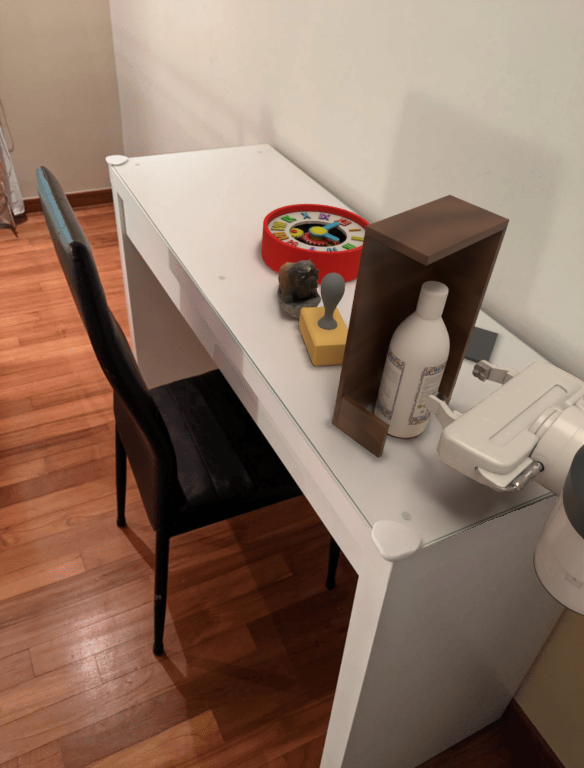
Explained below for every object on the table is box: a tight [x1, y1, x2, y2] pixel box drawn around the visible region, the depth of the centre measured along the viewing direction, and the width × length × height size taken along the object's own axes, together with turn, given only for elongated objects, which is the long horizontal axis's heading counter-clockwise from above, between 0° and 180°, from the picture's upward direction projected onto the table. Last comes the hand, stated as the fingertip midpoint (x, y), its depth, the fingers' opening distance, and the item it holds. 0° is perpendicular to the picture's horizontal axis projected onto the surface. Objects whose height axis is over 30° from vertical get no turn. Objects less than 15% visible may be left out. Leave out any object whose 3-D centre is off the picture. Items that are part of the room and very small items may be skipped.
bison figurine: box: [277, 259, 322, 318], centre depth 96 cm, size 12×7×10 cm, turn 8°
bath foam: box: [373, 281, 450, 439], centre depth 73 cm, size 7×7×20 cm
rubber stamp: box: [298, 273, 348, 367], centre depth 87 cm, size 10×6×12 cm, turn 12°
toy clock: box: [260, 203, 371, 285], centre depth 110 cm, size 20×6×20 cm
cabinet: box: [331, 194, 510, 458], centre depth 71 cm, size 8×15×27 cm, turn 134°
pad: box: [464, 325, 499, 363], centre depth 95 cm, size 9×9×1 cm
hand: (453, 381), depth 70 cm, fingers open, 8 cm apart
